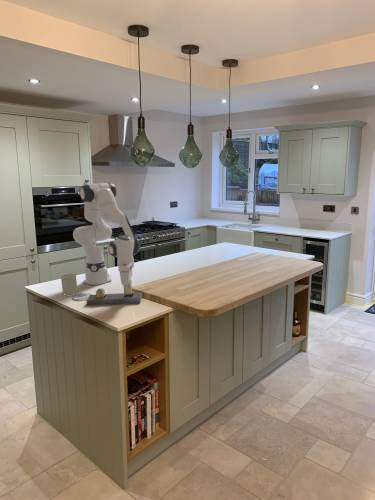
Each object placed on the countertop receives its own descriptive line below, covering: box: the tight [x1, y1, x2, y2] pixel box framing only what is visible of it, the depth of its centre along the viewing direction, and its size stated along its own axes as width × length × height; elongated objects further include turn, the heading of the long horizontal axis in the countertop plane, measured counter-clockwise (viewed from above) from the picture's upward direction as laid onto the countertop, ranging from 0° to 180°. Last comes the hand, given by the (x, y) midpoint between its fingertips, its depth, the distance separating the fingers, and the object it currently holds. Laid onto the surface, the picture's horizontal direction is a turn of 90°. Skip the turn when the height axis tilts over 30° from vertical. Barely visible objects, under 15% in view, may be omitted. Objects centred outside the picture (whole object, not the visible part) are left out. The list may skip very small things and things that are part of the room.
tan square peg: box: [95, 288, 106, 299], centre depth 221 cm, size 4×4×8 cm
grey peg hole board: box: [86, 292, 143, 306], centre depth 222 cm, size 10×30×3 cm, turn 91°
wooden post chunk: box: [122, 279, 133, 294], centre depth 220 cm, size 4×4×8 cm
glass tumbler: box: [60, 273, 79, 296], centre depth 239 cm, size 9×9×12 cm
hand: (128, 287), depth 220 cm, fingers closed on wooden post chunk, 4 cm apart
